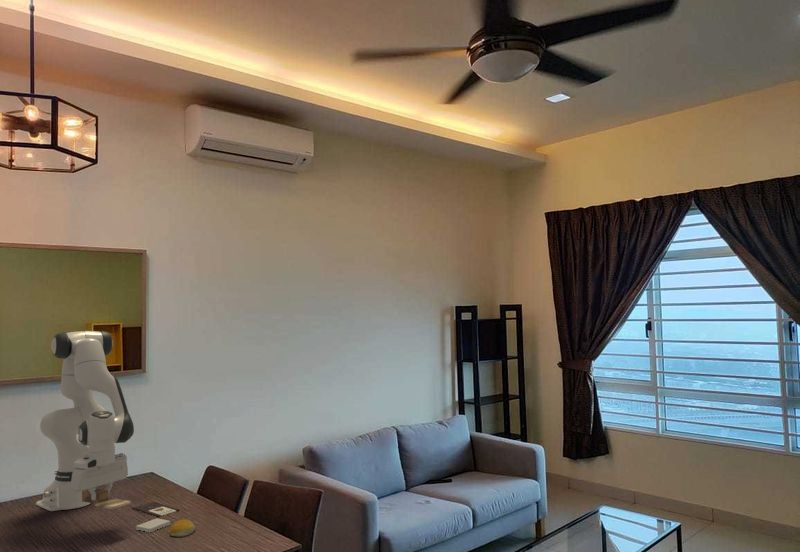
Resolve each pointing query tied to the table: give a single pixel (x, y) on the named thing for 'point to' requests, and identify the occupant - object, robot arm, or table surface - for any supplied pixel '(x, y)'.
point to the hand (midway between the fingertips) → (100, 497)
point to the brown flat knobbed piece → (103, 499)
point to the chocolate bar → (155, 509)
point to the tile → (153, 525)
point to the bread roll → (182, 528)
